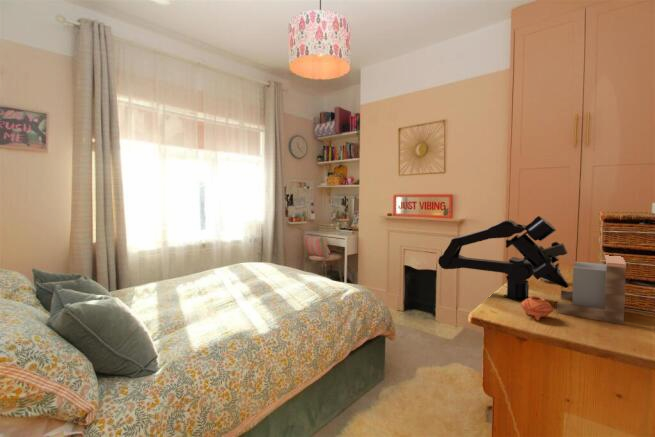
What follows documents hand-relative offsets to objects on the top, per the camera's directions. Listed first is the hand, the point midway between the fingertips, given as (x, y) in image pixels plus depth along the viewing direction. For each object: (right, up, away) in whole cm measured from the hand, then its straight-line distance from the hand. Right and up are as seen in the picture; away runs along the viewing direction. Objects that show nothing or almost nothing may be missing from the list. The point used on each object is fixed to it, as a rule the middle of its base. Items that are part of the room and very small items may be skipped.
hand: (567, 287), depth 103 cm
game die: (+14, -4, +29) cm, 33 cm away
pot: (-16, -8, -8) cm, 19 cm away
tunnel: (+4, -6, -3) cm, 8 cm away
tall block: (+5, -7, -3) cm, 9 cm away
